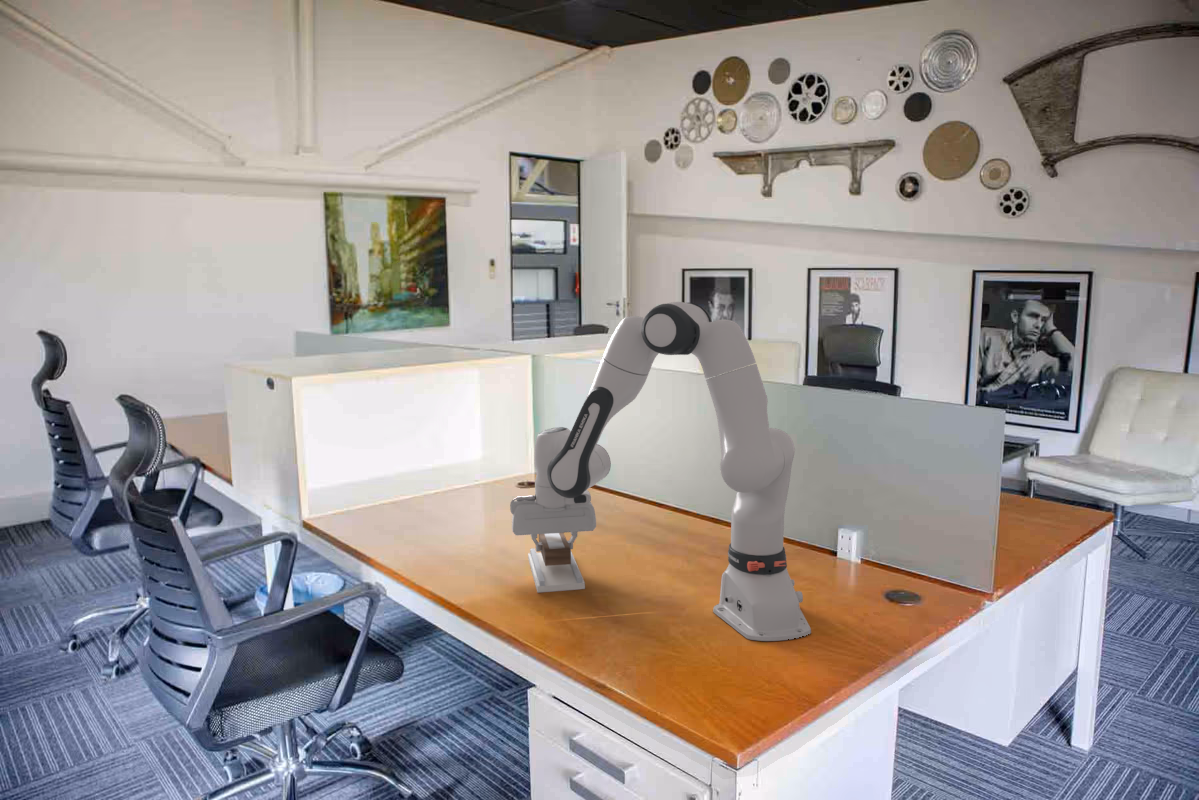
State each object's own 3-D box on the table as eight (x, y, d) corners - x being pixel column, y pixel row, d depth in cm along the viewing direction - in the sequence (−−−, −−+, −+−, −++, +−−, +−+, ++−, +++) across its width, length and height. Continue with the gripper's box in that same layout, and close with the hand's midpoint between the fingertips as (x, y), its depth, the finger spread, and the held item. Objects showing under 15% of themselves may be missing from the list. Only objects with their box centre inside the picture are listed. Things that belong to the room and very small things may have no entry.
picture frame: (570, 564, 192) (570, 549, 191) (545, 565, 191) (545, 550, 190) (562, 544, 205) (562, 529, 205) (538, 545, 204) (538, 531, 204)
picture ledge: (584, 588, 189) (584, 577, 189) (537, 592, 187) (537, 581, 187) (570, 555, 210) (570, 545, 210) (528, 558, 208) (528, 548, 208)
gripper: (511, 500, 191) (512, 557, 193) (597, 495, 194) (597, 551, 197) (509, 493, 197) (510, 548, 199) (592, 488, 200) (593, 542, 203)
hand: (554, 549), depth 198 cm, fingers closed on picture frame, 6 cm apart
